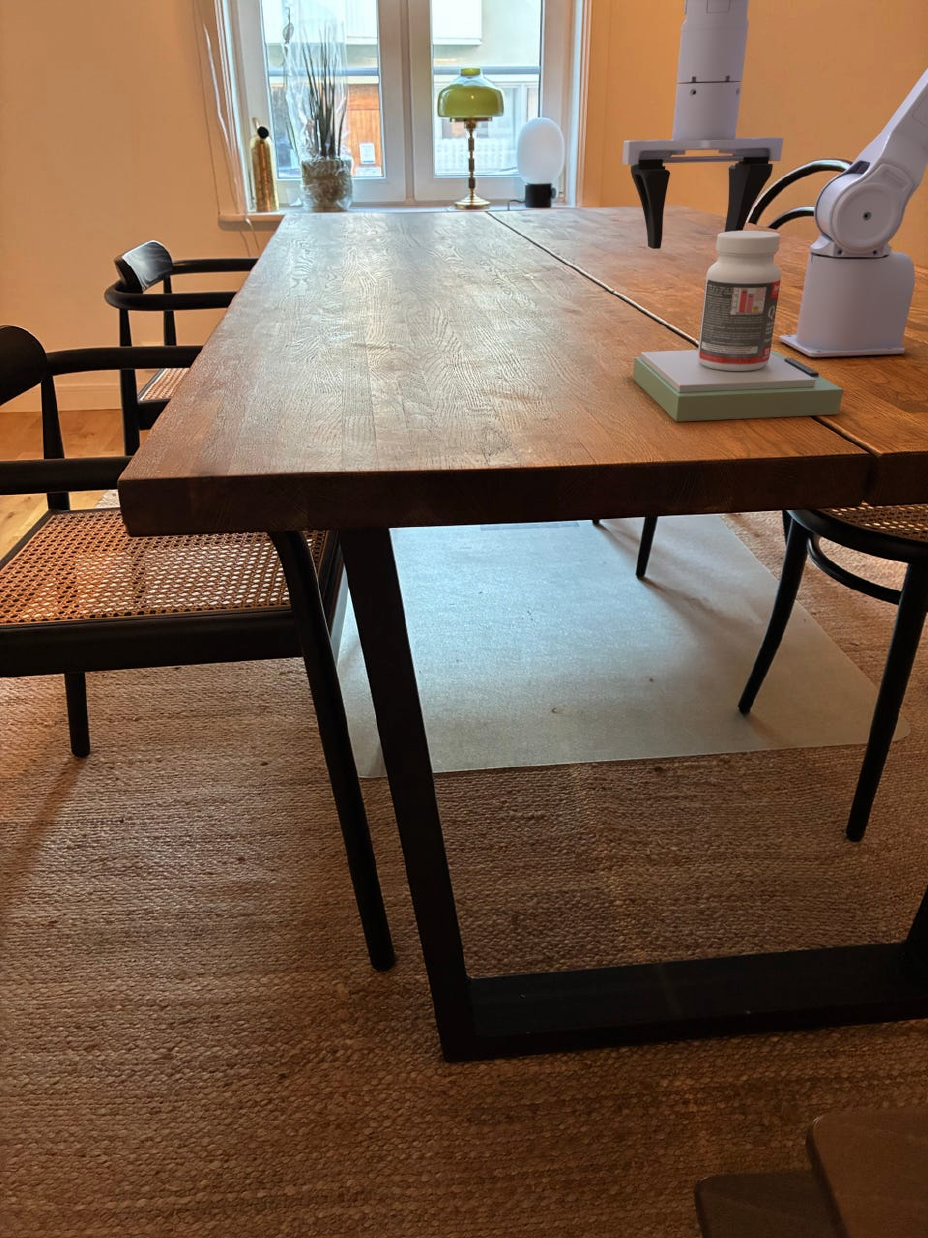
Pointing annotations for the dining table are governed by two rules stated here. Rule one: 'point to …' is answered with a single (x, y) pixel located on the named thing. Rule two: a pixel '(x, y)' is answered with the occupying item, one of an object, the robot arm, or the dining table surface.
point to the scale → (734, 388)
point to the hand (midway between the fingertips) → (692, 246)
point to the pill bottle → (740, 302)
